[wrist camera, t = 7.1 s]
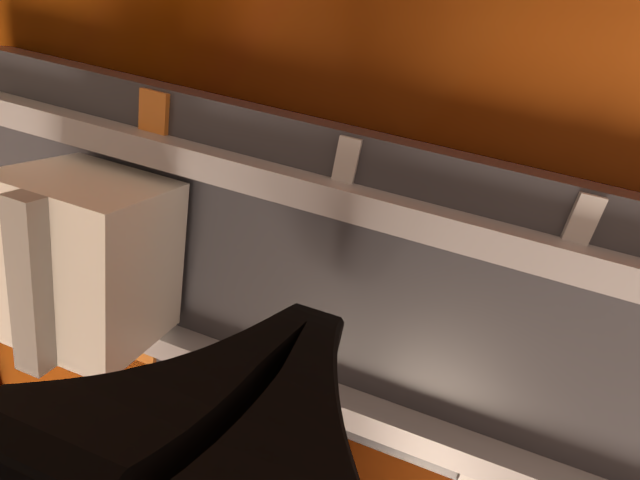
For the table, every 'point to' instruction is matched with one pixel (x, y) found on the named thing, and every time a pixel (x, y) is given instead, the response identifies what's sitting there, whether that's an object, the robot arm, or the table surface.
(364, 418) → the gray slider track
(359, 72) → the table surface
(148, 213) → the fader tab
